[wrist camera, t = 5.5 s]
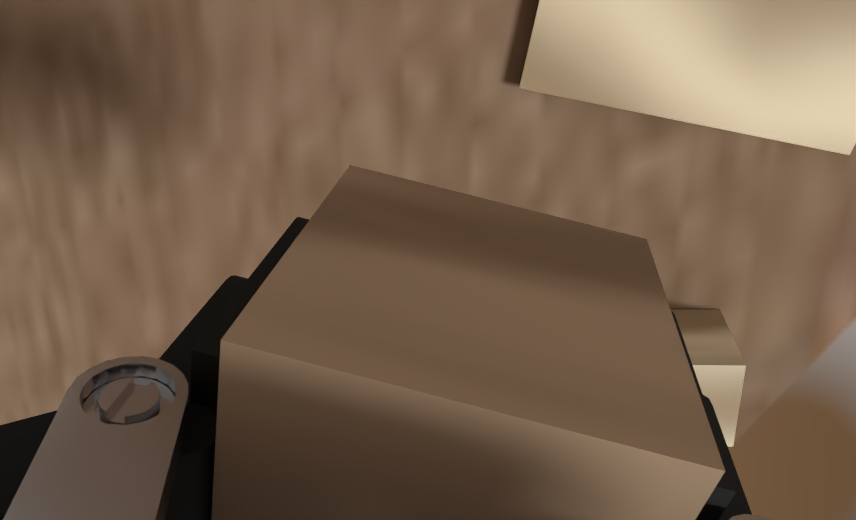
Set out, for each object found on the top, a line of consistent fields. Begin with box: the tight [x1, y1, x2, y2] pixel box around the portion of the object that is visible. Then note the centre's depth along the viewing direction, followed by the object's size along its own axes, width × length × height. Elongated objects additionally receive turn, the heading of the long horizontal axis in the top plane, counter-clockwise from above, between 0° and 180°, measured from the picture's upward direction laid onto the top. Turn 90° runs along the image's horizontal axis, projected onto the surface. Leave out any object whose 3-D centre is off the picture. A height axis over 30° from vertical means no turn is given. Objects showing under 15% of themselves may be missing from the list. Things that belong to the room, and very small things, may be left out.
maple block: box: [670, 309, 746, 447], centre depth 27 cm, size 4×4×4 cm
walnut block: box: [211, 165, 725, 520], centre depth 10 cm, size 5×5×5 cm
